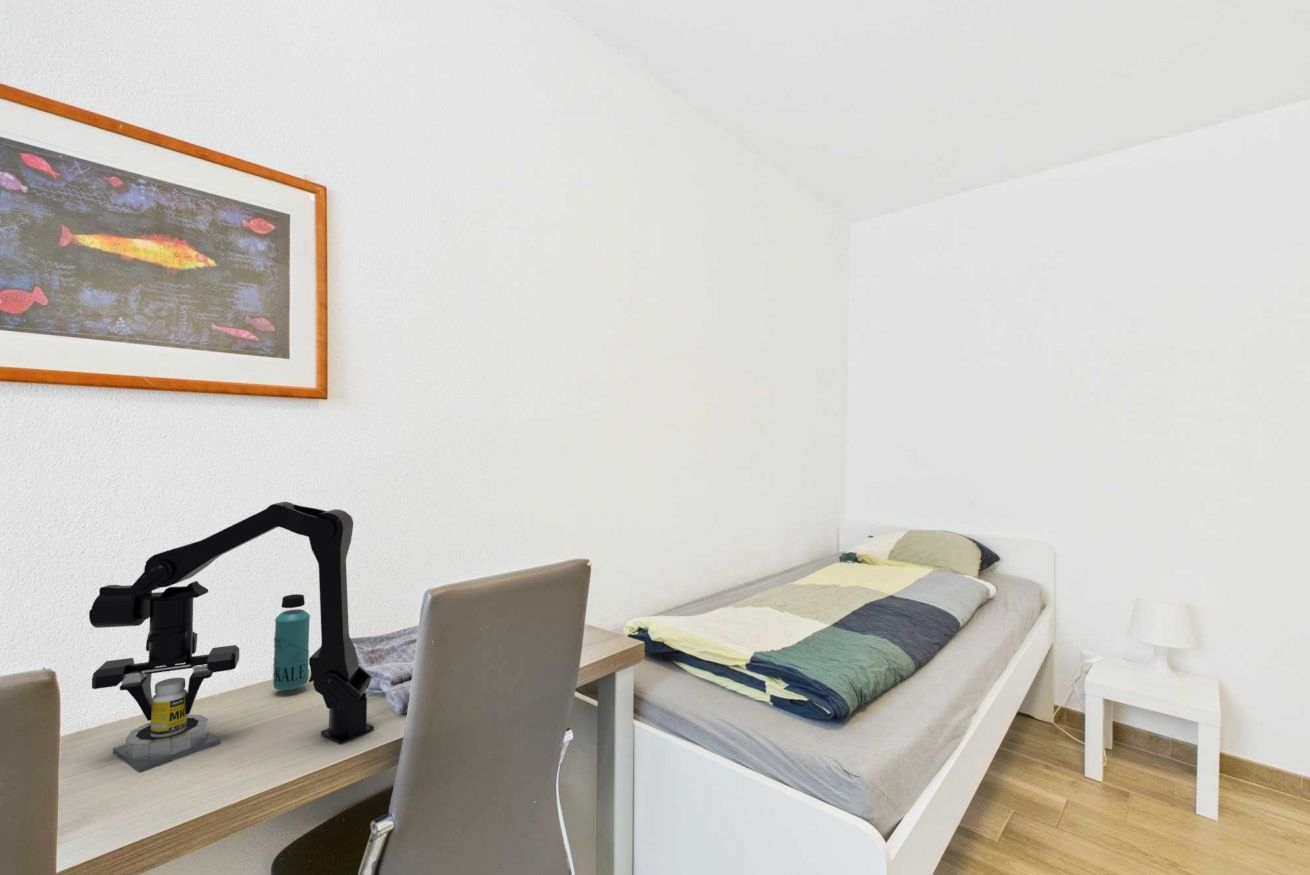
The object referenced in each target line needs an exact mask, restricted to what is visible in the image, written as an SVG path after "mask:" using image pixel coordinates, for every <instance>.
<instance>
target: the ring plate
mask: <svg viewBox="0 0 1310 875" xmlns="http://www.w3.org/2000/svg"><path fill="white" fill-rule="evenodd" d="M208 723H209V721H208V717H206V716H203V715H201V714H187V726H186V728H185V729H184V730H183V731H182V732H180V733H178V734H176V735H172V736H169V737H162V738H155V737H152V736H151V721H149V722H146V723H144V724H143V725H140V726H138V727H137V728H135V729H132V730H131V731H130V732H129V733H128V735H127V736H126V737H125V743H124V744H122V745H119V746H115V747H113V748H112V754H114V755H115V754H116V755H117V757H118V758H119V757H120V758H121V761H123V760H124V761H125V762H124V761H123V762H124V763H126V764H127V765H129V767H131V766H132V767H131V768H133V769H134V770H135V769H136V770H135V771H136V772H138V773H143V772H145V771H148V770H151V769H154V768H156V767H159V766H162V765H165V764H167V763H170V762H172V761H173V762H174V761H175V760H179V759H181V758H183V757H186V756H189V755H192V754H195V753H198V752H201V751H203V750H206V749H208V748H210V747H214V746H217V745H220V744H221V738H220V737H218V736H216V735H215V734H213V733H211V732H210V731H208ZM116 755H115V756H116ZM120 758H119V759H120Z"/></svg>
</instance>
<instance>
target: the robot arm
mask: <svg viewBox="0 0 1310 875" xmlns="http://www.w3.org/2000/svg"><path fill="white" fill-rule="evenodd" d="M277 528H281V529H285V530H287V531H290V532H291V533H294V534H297V535H300V536H303V537H304V536H305V537H308V541H309V544H310V545H309V546H310V549H311V551H312V553H313V555H314V557H315V560H316V562H317V564H318V580H319V582H318V584H319V605H320V606H319V608H320V634H321V644H320V647H319V648H318V649H317V650H316V651H315V652H314V653H313V654H312V655H310V656H309V657H308V662H309V663H308V664H309V665H308V666H309V669H310V676H309V680H308V682H309V683H312V684H313V688H314V690H315V692H316V693H318V694H320V695H321V697H322V698H323V701H324V703H325V706H326V708H327V709H328V710H329V712H328V714H329V715H328V727H329V728H328V727H327V728H326V729H323V730H321V731H320V736H322V737H324V738H327V739H329V740H332V741H333V742H336V743H338V744H344V743H346V742H348V741H351V740H353V739H355V738H358V737H360V736H362V735H365V734H367V733H369V732H372V731H374V730H375V726H374V725H372V724H370V723H367V722H368V720H367V718H368V716H367V715H368V714H367V712H368V711H367V710H368V698H367V696H366V694H365V693H364V692H365V690H366V689H367V688H368V687H369V686H370V684H371V681H372V678H373V677H372V675H371V674H369V673H368V672H367V671H366V670H365V669H364V668H362V667H361V666H360V663H359V659H358V654H357V650H356V647H355V645H354V642H353V641H352V640H351V637H350V630H349V629H350V628H349V627H350V626H349V606H348V605H349V604H348V601H349V600H348V575H347V574H348V573H347V558H348V553H349V550H350V549H349V548H350V546H351V543H352V536H353V530H354V520H353V517H352V516H351V514H349V513H348V512H347V511H345V510H342V509H338V508H337V509H335V508H334V509H330V510H325V509H324V510H323V509H319V508H314V507H309V506H305V505H304V506H303V505H300V504H299V505H298V504H295V503H292V502H289V501H281V502H276V503H273V504H270V505H268V506H267V507H266V508H265V509H263V510H261V511H259V512H257V513H254V514H252V515H250V516H249V517H247V518H245V519H242V520H240V521H238V522H236V523H234V524H232V525H230V526H228V527H226V528H224V529H222V530H219V531H218V532H216V533H214V534H211V535H210V536H207V537H204V538H203V539H201V540H198V541H195V542H191V543H189V544H185V545H182V546H178V547H174V548H172V549H169V550H165V551H162V552H158V553H156V554H154V555H151V556H150V557H148V559H146V561H145V565H144V567H143V568H144V569H143V573H141V575H140V576H139V577H138V578H137V579H136V580H135V582H134V583H133V584H132V585H131V584H129V585H119V584H108V585H105V586H101V587H100V588H99V589H98V590H99V592H98V594H99V595H97V597H96V598H95V599H94V601H93V604H92V606H91V609H90V610H89V612H88V613H89V614H88V616H89V617H88V618H89V622H90V624H91V626H92V627H93V628H95V629H101V628H122V627H124V628H125V627H139V626H141V625H142V624H143V623H144V622H145V621H146V620H148V619H149V632H148V634H147V638H146V642H145V651H146V652H148V661H146V662H139V663H135V661H134V657H129V658H128V657H127V658H122V659H119V658H118V659H113V660H106V661H104V663H103V664H101V666H99V667H98V669H96V670H95V671H94V672H93V674H92V677H91V689H92V690H98V689H105V688H112V687H117V686H119V685H120V683H121V685H120V686H119V691H127V692H128V693H129V694H130V696H132V698H133V699H134V700H135V702H136V703H137V705H138V707H139V708H140V709H141V712H142V714H143V716H145V717H144V718H146V720H147V722H148V721H149V722H151V703H152V698H153V693H152V685H151V684H152V674H158V673H166V672H167V673H168V672H172V671H174V672H175V671H180V670H186V669H187V670H188V669H192V673H191V675H190V677H189V679H188V685H187V686H188V688H187V701H186V715H190V713H191V710H192V707H193V705H194V702H195V701H196V699H197V694H198V692H199V689H200V688H201V685H202V683H203V681H204V680H205V679H209V678H211V677H213V674H214V673H219V672H227V671H232V670H234V669H236V667H237V665H238V663H239V661H240V648H239V646H238V645H236V644H234V645H224V646H218V647H217V646H216V647H212V648H211V650H210V651H209V653H208V654H201V655H194V654H195V653H196V652H197V648H198V647H197V645H198V644H197V643H198V635H199V634H198V633H197V632H195V631H194V627H193V625H194V624H193V622H194V619H193V618H194V599H195V598H200V597H201V596H203V595H205V594H207V593H209V589H208V588H207V587H205V586H203V585H202V584H200V583H199V582H198V581H197V580H194V581H193V582H190V583H188V585H186V586H185V585H184V586H172V585H176V584H178V583H181V582H183V581H186V580H188V579H191V578H193V577H194V576H196V575H197V574H198V573H200V572H201V571H203V570H204V569H206V568H207V567H208V566H210V565H211V564H212V563H213V562H214V561H215V560H217V559H218V558H220V557H221V556H222V555H224V554H226V553H228V552H231V551H232V550H234V549H236V548H239V547H241V546H242V545H245V544H247V543H248V542H251V541H253V540H255V539H257V538H259V537H261V536H263V535H265V534H267V533H270V532H271V531H273V530H274V529H277ZM160 588H165V589H164V591H158V592H156V591H155V590H159V589H160ZM153 591H155V592H153Z"/></svg>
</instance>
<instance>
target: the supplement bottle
mask: <svg viewBox="0 0 1310 875" xmlns="http://www.w3.org/2000/svg"><path fill="white" fill-rule="evenodd" d="M154 693H155V694H154V695H152V703H151V720H150V722H151V736H152V737H155V738H162V737H169V736H172V735H176V734H178V733H180V732H182V731H183V730H184V729H185V728H186V726H187V715H188V714H187V715H186V701H187V693H188V689H186V678H184V677H172V678H165V679H163V680H160V681H158V682H156V683H155V685H154Z"/></svg>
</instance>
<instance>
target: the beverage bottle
mask: <svg viewBox="0 0 1310 875" xmlns="http://www.w3.org/2000/svg"><path fill="white" fill-rule="evenodd" d="M302 606H305V596H304V594H300V593H298V594H297V593H296V594H289V595H284V596H283V597H282V601H281V608H283V609H289V610H284V611H281V613H280V614H278V615H277V616H276V618H275V620H274V621H275V627H274V628H275V629H274V633H273V634H274V637H273V641H274V642H273V643H274V649H273V656H274V657H273V659H272V660H273V664H272V673H273V678H272V685H273V688H274V689H275V690H278V691H279V690H280V691H286V690H293V689H297V688H300V687H303V686H305V685H306V684H307V683H308V682H309V680H310V673H309V672H310V671H309V666H310V665H309V658H310V650H309V648H310V647H309V645H310V643H309V642H310V640H309V639H310V617H311V615H310V614H309V613H308V612H307V611H306V610H304V609H300V608H299V607H302ZM293 608H294V609H293ZM295 608H297V609H295ZM298 608H299V609H298ZM308 679H309V680H308Z"/></svg>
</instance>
